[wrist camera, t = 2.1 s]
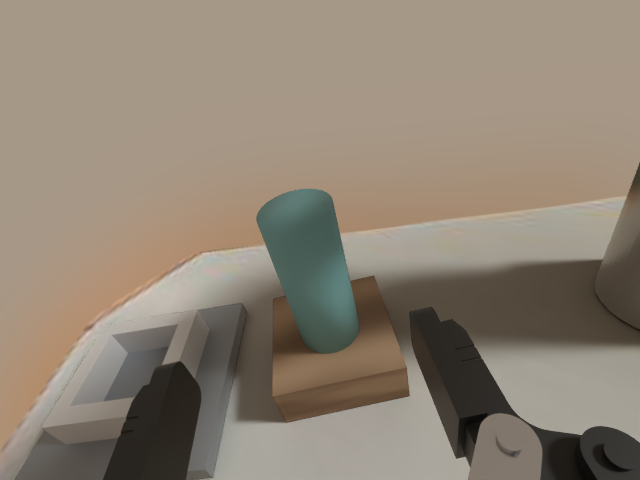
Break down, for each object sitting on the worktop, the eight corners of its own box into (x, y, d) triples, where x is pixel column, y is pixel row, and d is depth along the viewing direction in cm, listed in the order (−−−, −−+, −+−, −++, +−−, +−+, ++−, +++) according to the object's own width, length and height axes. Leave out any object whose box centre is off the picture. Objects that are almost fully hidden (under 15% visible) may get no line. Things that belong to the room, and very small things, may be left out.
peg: (321, 298, 31) (288, 185, 24) (370, 315, 29) (347, 193, 22) (289, 340, 28) (240, 224, 21) (339, 363, 26) (302, 239, 19)
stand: (284, 325, 35) (273, 298, 33) (378, 303, 35) (373, 275, 32) (286, 422, 27) (272, 396, 25) (409, 395, 26) (406, 367, 24)
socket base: (116, 333, 39) (93, 307, 37) (246, 311, 38) (232, 283, 35) (21, 498, 26) (-25, 476, 24) (213, 477, 25) (186, 451, 22)
